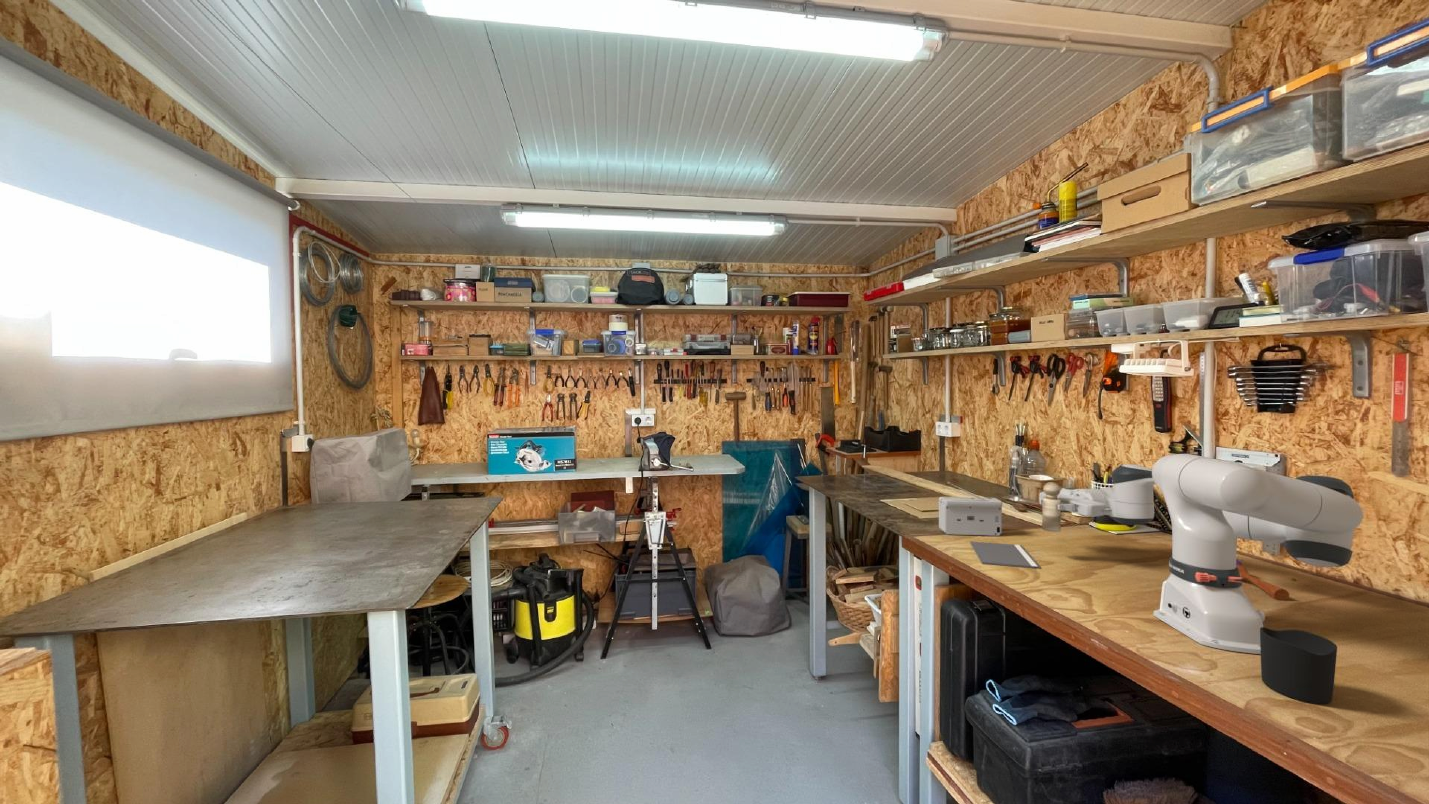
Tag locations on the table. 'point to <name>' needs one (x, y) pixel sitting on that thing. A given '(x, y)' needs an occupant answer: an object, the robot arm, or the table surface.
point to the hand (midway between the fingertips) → (1049, 504)
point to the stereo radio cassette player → (970, 515)
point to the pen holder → (1298, 664)
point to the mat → (1003, 555)
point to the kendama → (1263, 584)
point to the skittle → (1051, 508)
